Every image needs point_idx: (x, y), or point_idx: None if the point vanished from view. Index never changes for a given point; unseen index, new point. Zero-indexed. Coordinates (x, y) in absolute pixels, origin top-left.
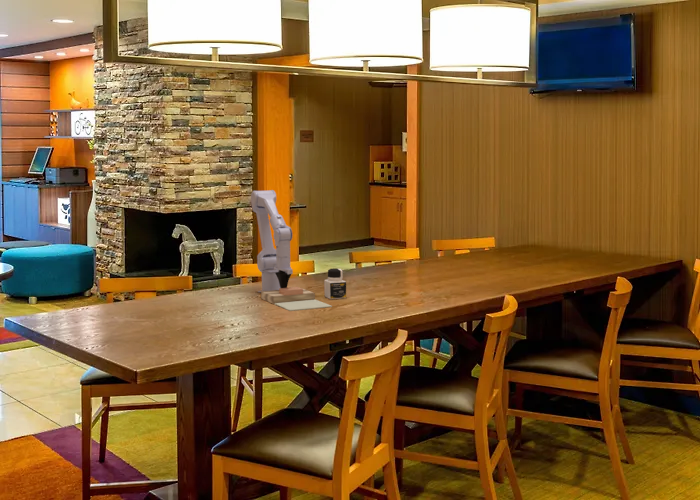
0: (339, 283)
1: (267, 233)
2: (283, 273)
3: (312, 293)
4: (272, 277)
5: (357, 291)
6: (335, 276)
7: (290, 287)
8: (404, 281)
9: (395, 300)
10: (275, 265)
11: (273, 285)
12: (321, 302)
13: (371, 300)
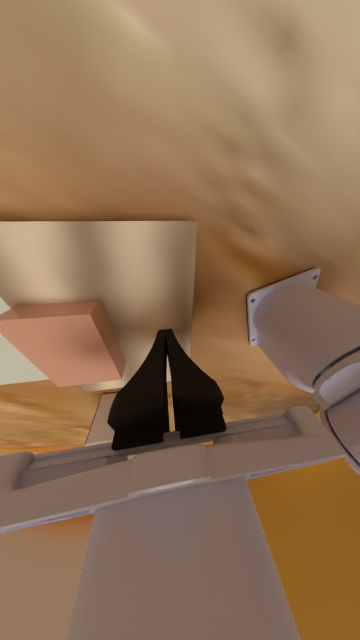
0: None
1: None
2: (112, 428)
3: (81, 387)
4: (301, 348)
5: (171, 420)
6: None
7: (110, 360)
8: (206, 442)
9: (74, 441)
10: (326, 460)
11: (270, 326)
12: (33, 378)
13: (78, 427)
